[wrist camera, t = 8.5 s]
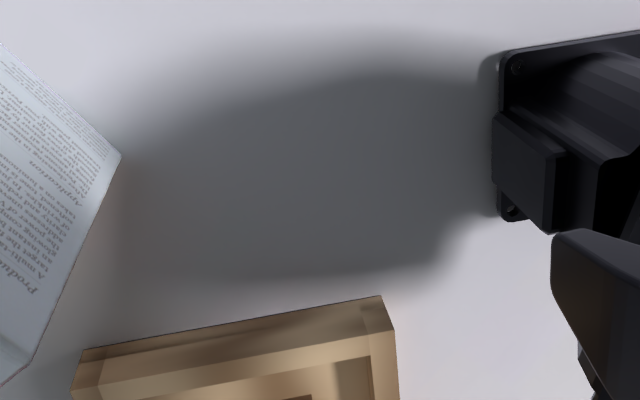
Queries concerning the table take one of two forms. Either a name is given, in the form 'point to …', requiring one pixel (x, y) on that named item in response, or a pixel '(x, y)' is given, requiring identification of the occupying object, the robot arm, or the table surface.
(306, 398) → the beige box
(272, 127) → the table surface
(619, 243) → the robot arm
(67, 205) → the small box
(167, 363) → the caddy
